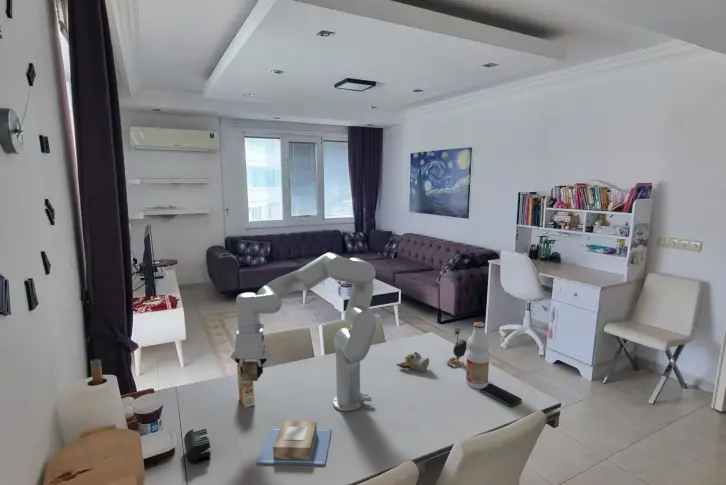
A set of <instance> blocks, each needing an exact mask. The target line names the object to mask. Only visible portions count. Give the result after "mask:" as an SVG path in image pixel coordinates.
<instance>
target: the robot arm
mask: <svg viewBox="0 0 726 485" xmlns="http://www.w3.org/2000/svg"><path fill="white" fill-rule="evenodd" d="M329 278H331V279H332V280H335V281H340V282H345V283H350V284H351V292H350V295H349V299H348V303H347V305H346V309H345V312H344V320H345V322H346V323H347V325H349V326H350V327H347V326H346V327H342V328H340V329H339V330H337V332H336V333H335V336H334V340H333V344H334V352H335V362H336V363H335V366H336V373H335V374H336V396H335V397H333V400H332V405H333V407H334V408H335V409H336V410H338V411H340V412H346V413H348V412H356V411H358V410H360V409H361V408H362V407H363V406H364V404H365V402H372V395H370V396H369V393H363V392H362V389H361V361H363V360H364V359H365V358H366V357H367V355H368V353H369V351H370V348H371V345H372V342H373V338H374V337H375V336H374V335H375V332H376V328H377V317H376V315H375V313H374V312H373V311H372V310H371V309H370V306H371V302H372V298H373V294H374V280H375V279H376V268H375V267H374V265H373V264H371V263H369V262H367V261H366V260H364V259H362V258H359V257H354V256H353V257H349V258H347V257H344V256H343V257H342V256H340V255H339V254H337V253H334V252H326V253H324V254H322V255H320V256H319V257H317V258H316V259H314V260H312V261H310V262H309V263H307V264H306V265H303V266H302V267H300V268H299V269H297V270H294V271H292V272H288V273H287V274H284V275H281V276H279V277H277V278H275V279H273V280H271V281H270V282H268V283H267V284H265V285H263V286H262V287H261V288H259V289H258V291H257V293H255V292H251V291H250V292H249V291H248V292H242V293H240V294H237V296H236V299H235V301H236V302H235V304H236V315H237V316H236V317H237V319H236V320H237V331H236V334H235V344H234V351H233V352H232V353H231V355H230V358H231V359H232V360H233V361H234V362H235V363H236V364H239V366H240V370H241V374H242V377H243V371H242V365H243V363H244V362H245V360H246V359H256V361H257V363H258V367H257V374H258V377H259V378H260V377H261V376H262V374H263V373H264V366H263V365H264V364H265V363H266V362H267V361H268V360H270V359H271V357H272V354H271V353H270V351H268V350H267V345H266V338H265V333H264V331H263V329H264V328H265V325H264V324H262V323H261V320H260V314H261V315H262V314H263V315H264V314H265V315H271V314H275V313H277V312H279V311H280V310H281V308H282V305H283V301H282V299H281V298H282V297H284V296H286V295H288V294H291V293H294V292H301V291H302V292H305V291H310V290H311V289H313V288H314V287H316V286H318V285H319V284H321V283H322V282H324V281H326V280H328V279H329Z"/></svg>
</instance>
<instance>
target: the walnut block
mask: <svg viewBox="0 0 726 485" xmlns="http://www.w3.org/2000/svg"><path fill="white" fill-rule="evenodd" d="M257 367H258V363H257V361H256V359H245V362H244V363H243V365H242V371H243V381H253V382H257V381H258V380H259V378H260V377H258V374H257Z"/></svg>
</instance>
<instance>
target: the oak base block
mask: <svg viewBox="0 0 726 485" xmlns="http://www.w3.org/2000/svg"><path fill="white" fill-rule="evenodd" d="M279 428H280V430H279V433H278V436H277V438H276V441H275V443H274V446H273V457H274V459H311V454H312V450H313V446H314V442H315V438H316V433H317V429H318V427H317V421H301V420H300V421H299V420H298V421H297V420H283V421H282V423H281V426H280V427H279Z"/></svg>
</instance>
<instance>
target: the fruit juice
mask: <svg viewBox="0 0 726 485" xmlns="http://www.w3.org/2000/svg"><path fill="white" fill-rule="evenodd" d="M472 326H473V331H472V334H471V335H470V336H469V338H468V339H467V347H468V348H467V350H466V351H467V353H466V365H465V366H466V367H465V368H466V369H465V370H466V373H465V383H466V385H467V386H468V387H470V388H473V389H475V390H476V389H477V390H482V389H485V387H486V388H487V387H488V384H489V366H490V354H489V349H490V340H489V339H488V337H487V334H486V331H485V329H486V324H485V323H484V322H481V321H480V322H479V321H478V322H473V325H472Z"/></svg>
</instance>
